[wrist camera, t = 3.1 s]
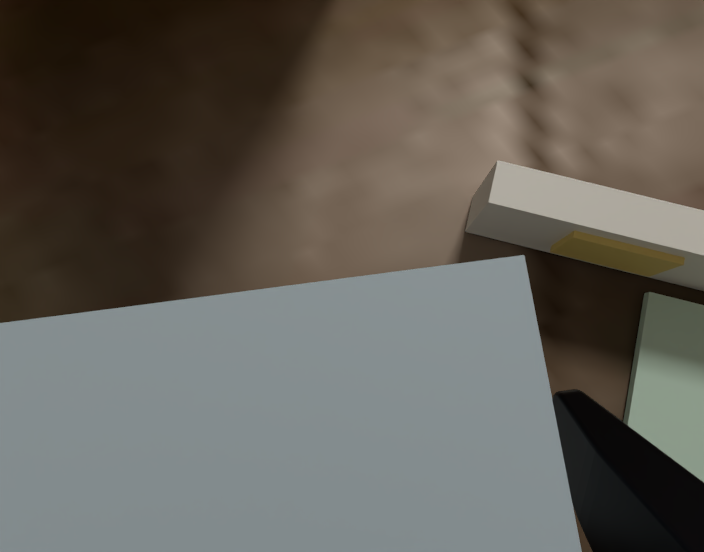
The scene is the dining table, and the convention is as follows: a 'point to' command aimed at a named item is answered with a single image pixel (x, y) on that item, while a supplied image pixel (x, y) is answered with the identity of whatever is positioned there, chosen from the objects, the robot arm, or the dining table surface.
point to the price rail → (590, 224)
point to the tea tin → (289, 421)
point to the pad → (669, 380)
